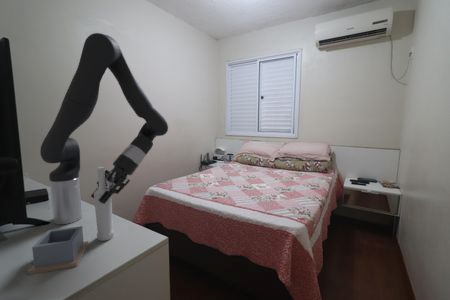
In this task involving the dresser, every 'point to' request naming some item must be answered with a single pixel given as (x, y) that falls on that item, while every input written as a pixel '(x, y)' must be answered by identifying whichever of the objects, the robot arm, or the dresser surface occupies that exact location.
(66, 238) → the sleeve
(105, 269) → the dresser surface
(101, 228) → the bottle
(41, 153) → the robot arm
